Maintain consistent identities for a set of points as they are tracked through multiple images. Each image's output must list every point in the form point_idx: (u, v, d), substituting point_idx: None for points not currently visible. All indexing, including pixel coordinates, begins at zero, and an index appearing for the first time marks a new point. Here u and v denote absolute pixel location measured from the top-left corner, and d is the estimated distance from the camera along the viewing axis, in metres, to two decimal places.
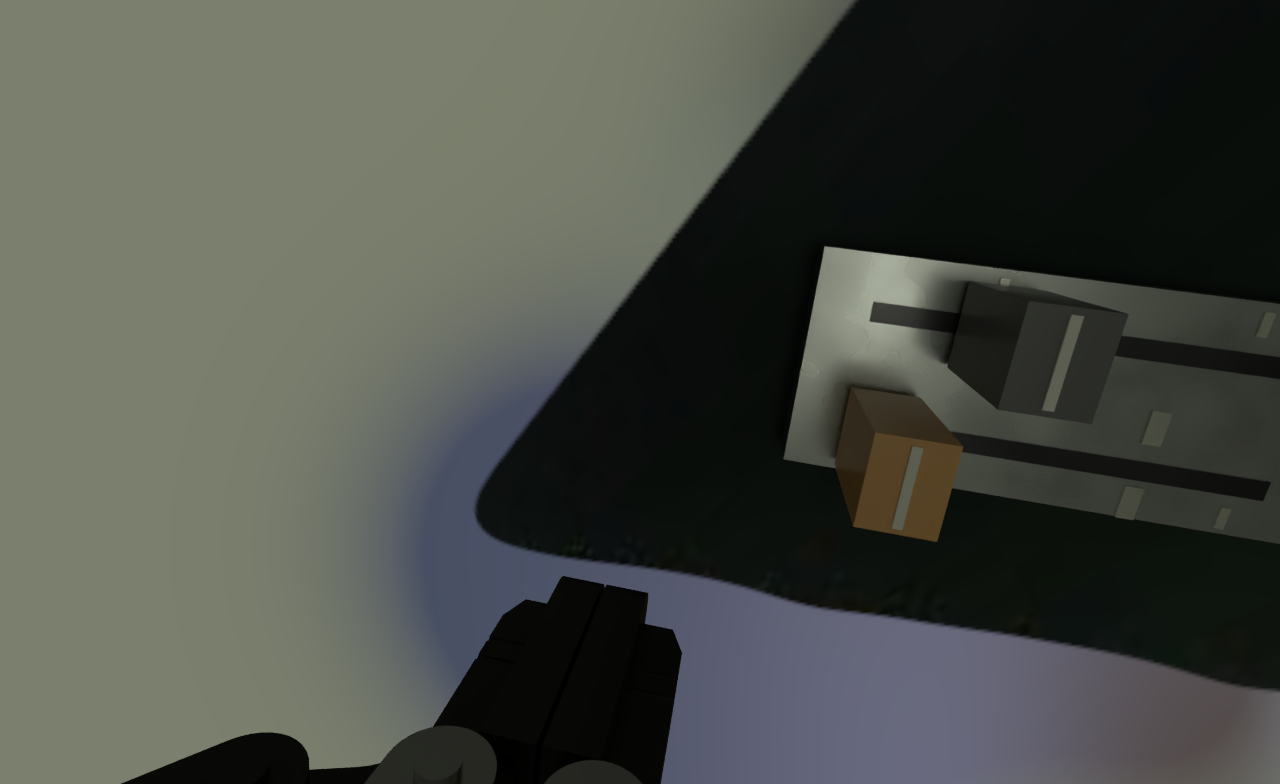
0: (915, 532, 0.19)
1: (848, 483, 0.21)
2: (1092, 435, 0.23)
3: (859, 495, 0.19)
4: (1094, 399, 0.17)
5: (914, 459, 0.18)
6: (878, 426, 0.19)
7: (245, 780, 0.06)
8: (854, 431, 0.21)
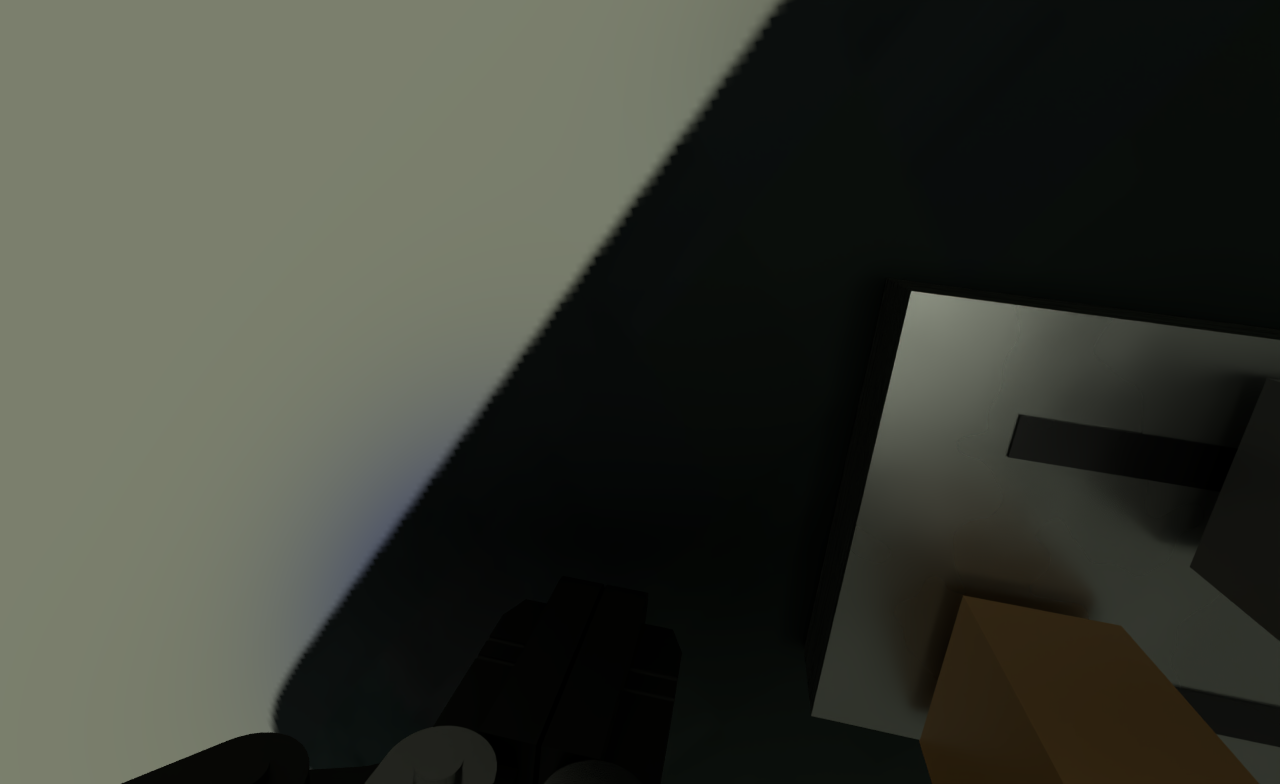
0: None
1: None
2: None
3: None
4: None
5: None
6: None
7: (245, 780, 0.06)
8: (994, 747, 0.09)
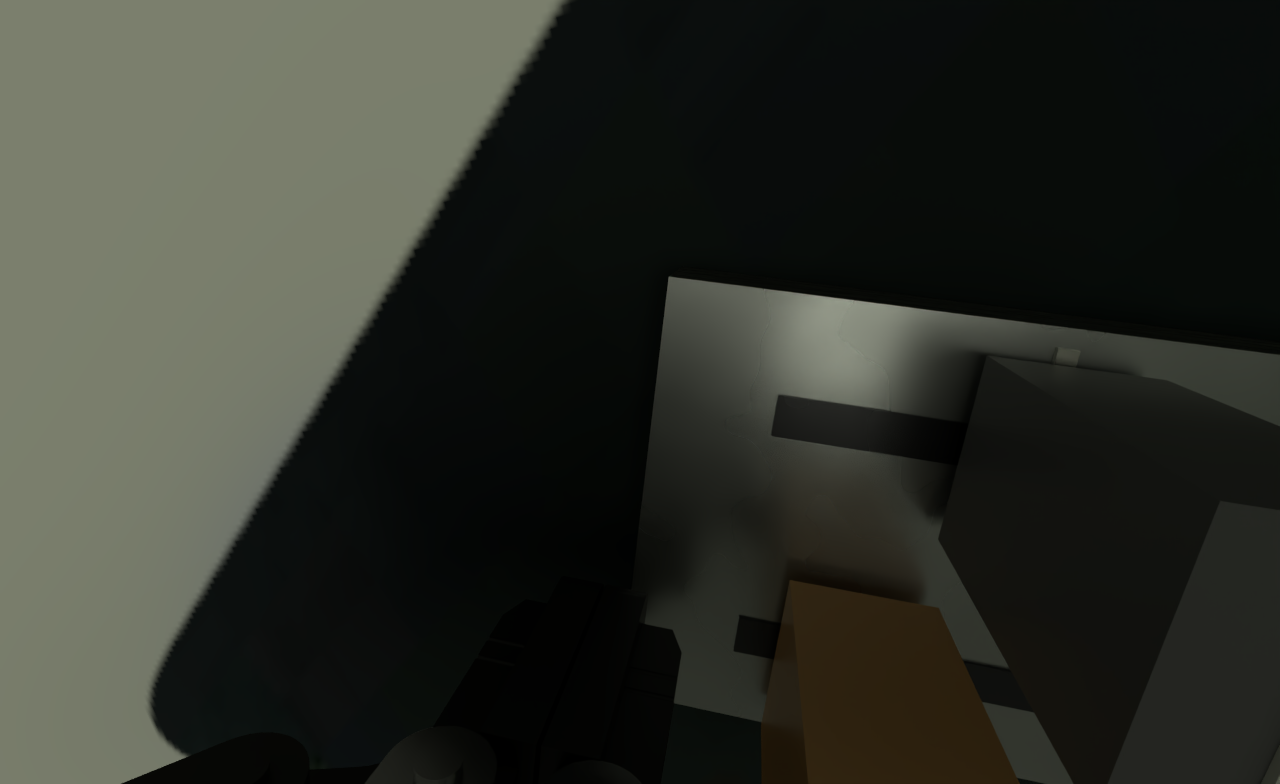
0: None
1: None
2: None
3: None
4: None
5: None
6: None
7: (246, 780, 0.06)
8: (785, 723, 0.09)
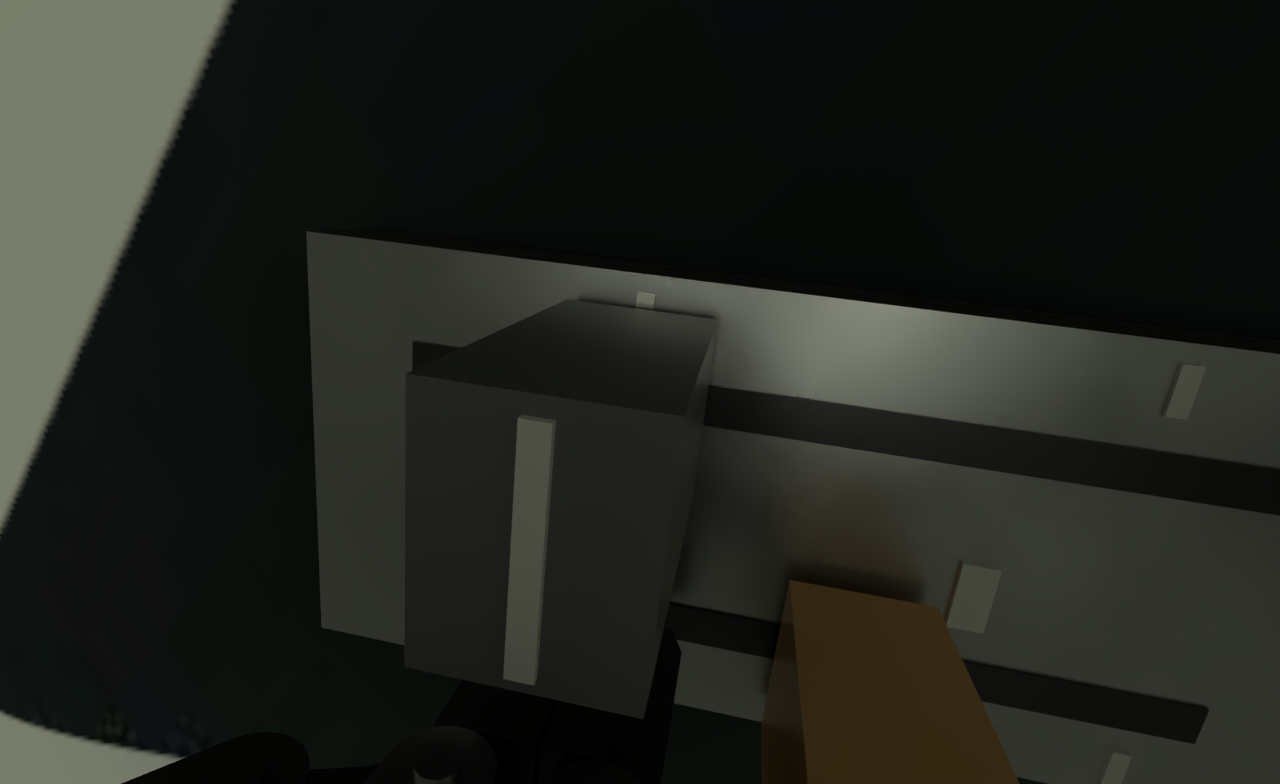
0: None
1: None
2: None
3: None
4: (639, 653, 0.06)
5: None
6: None
7: (245, 780, 0.06)
8: (785, 723, 0.09)
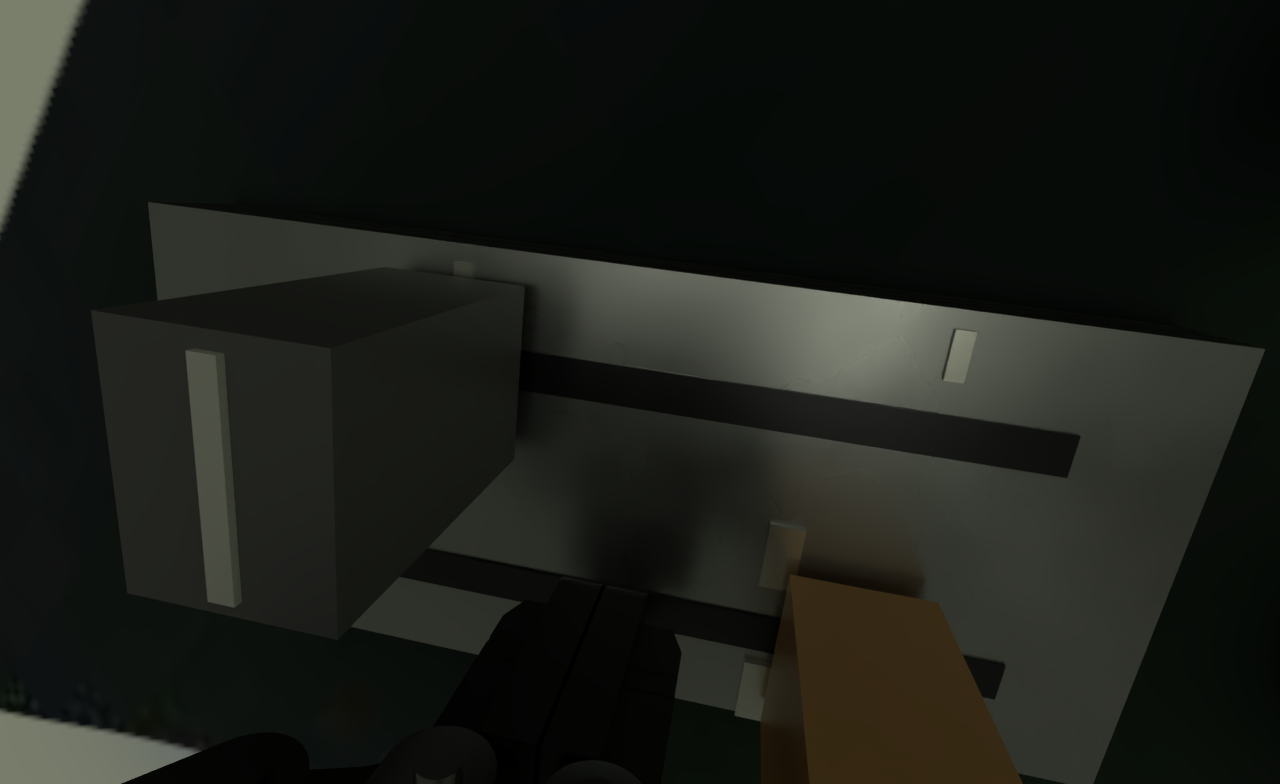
0: None
1: None
2: (674, 566, 0.12)
3: None
4: (327, 577, 0.06)
5: None
6: None
7: (246, 780, 0.06)
8: (785, 716, 0.09)
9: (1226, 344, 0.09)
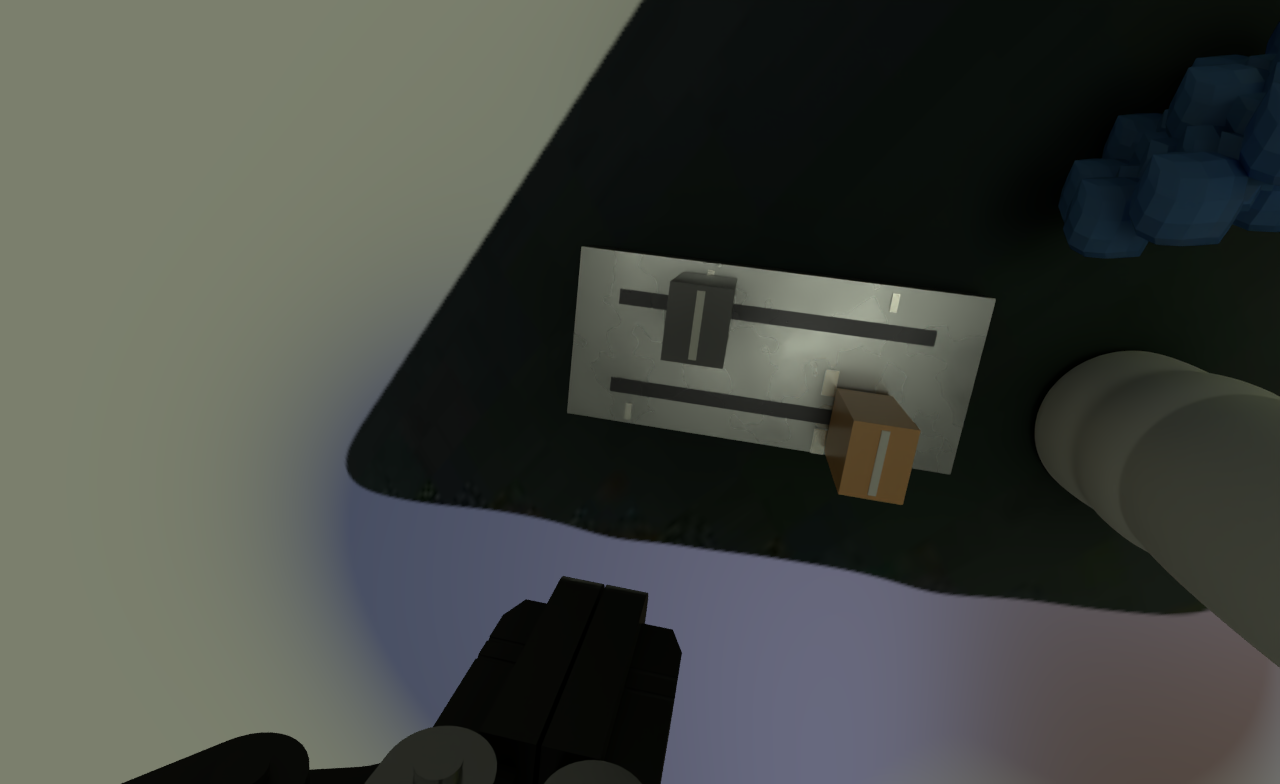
0: (886, 498, 0.25)
1: (834, 462, 0.27)
2: (787, 389, 0.30)
3: (842, 469, 0.25)
4: (722, 351, 0.24)
5: (884, 440, 0.24)
6: (856, 416, 0.25)
7: (245, 780, 0.06)
8: (839, 422, 0.27)
9: (983, 297, 0.27)
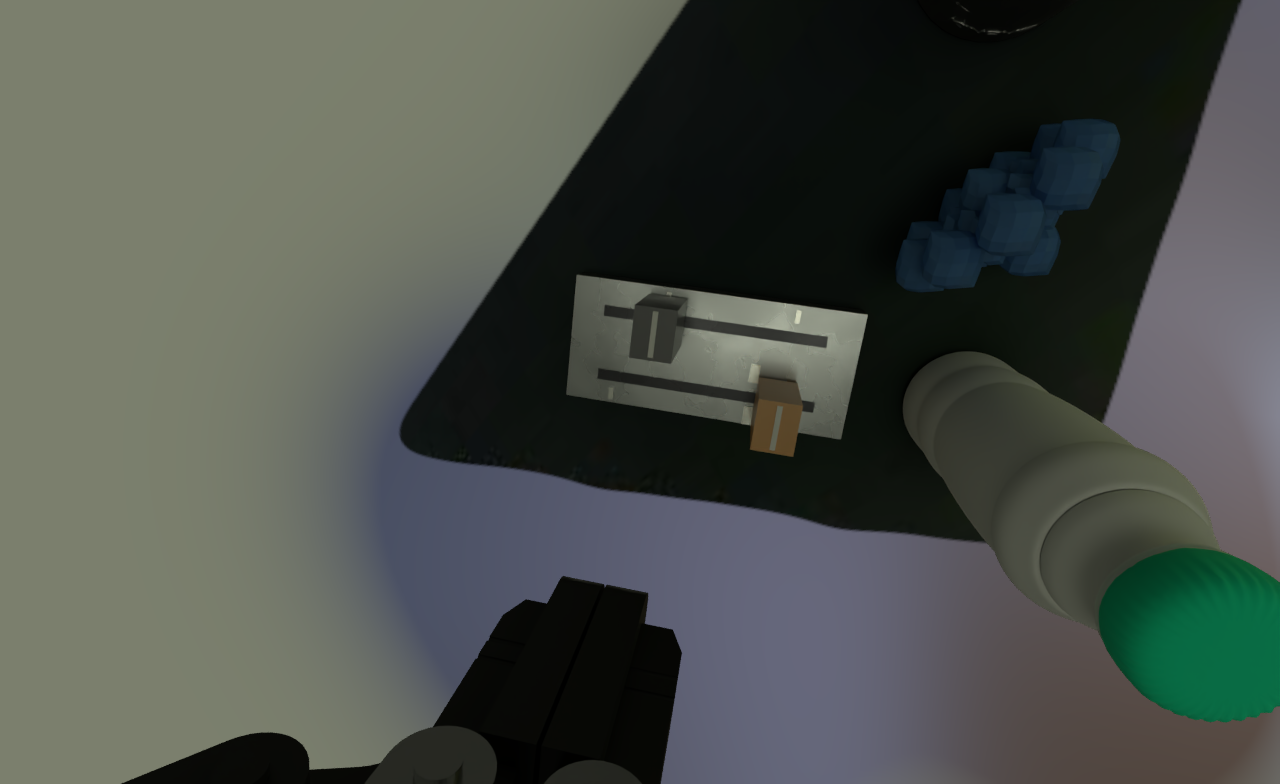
0: (782, 452, 0.36)
1: (751, 429, 0.38)
2: (724, 377, 0.41)
3: (752, 432, 0.37)
4: (670, 351, 0.36)
5: (779, 412, 0.36)
6: (762, 396, 0.36)
7: (245, 780, 0.06)
8: (756, 401, 0.39)
9: (859, 313, 0.39)
